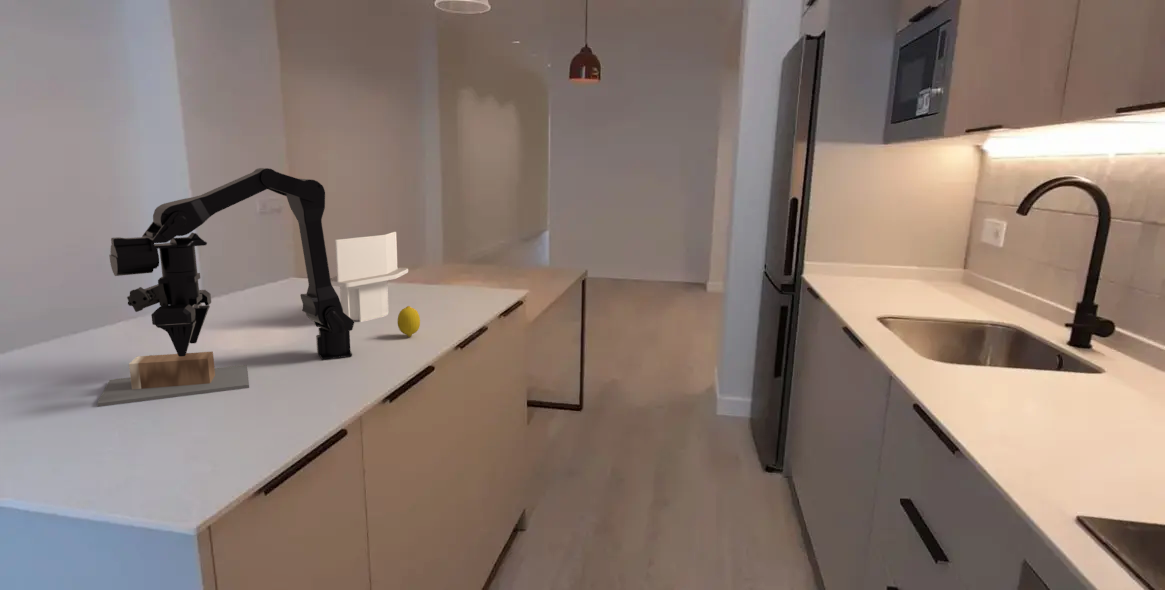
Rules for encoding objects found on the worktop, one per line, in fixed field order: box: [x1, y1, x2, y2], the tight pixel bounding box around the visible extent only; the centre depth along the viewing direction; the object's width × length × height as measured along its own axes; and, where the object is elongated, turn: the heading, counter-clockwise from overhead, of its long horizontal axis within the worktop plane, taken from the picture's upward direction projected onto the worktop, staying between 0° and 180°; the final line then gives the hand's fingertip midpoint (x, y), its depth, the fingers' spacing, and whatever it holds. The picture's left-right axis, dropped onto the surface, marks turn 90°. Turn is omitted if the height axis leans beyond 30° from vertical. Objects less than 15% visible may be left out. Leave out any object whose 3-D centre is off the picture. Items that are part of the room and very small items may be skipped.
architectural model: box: [330, 231, 409, 323], centre depth 184 cm, size 28×21×23 cm
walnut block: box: [128, 351, 216, 389], centre depth 126 cm, size 5×5×13 cm
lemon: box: [397, 305, 421, 338], centre depth 164 cm, size 6×6×8 cm
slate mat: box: [96, 364, 250, 407], centre depth 127 cm, size 24×14×1 cm, turn 118°
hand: (187, 349), depth 126 cm, fingers open, 9 cm apart
